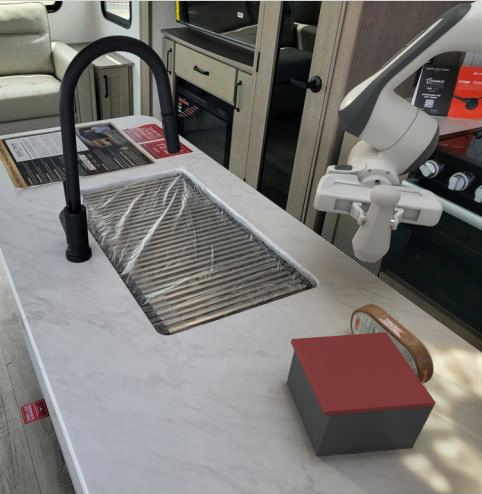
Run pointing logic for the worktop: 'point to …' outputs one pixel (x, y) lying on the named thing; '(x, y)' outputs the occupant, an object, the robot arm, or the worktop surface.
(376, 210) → the salt shaker
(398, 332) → the tin
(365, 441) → the dark grey storage bin
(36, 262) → the worktop surface
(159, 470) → the worktop surface
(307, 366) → the storage bin lid
